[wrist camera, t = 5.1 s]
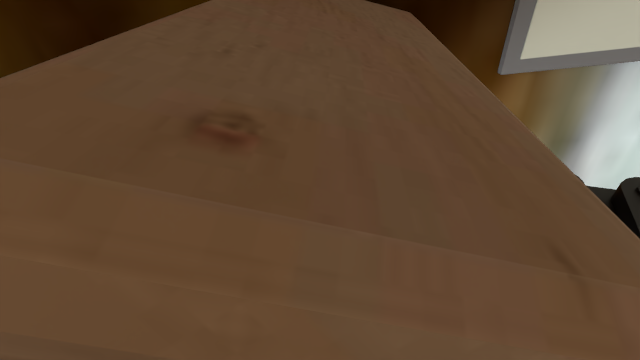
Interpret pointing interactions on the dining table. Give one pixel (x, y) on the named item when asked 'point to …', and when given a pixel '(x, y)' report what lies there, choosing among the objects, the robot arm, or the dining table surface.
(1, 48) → the dining table surface
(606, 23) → the mat
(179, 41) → the wooden block
